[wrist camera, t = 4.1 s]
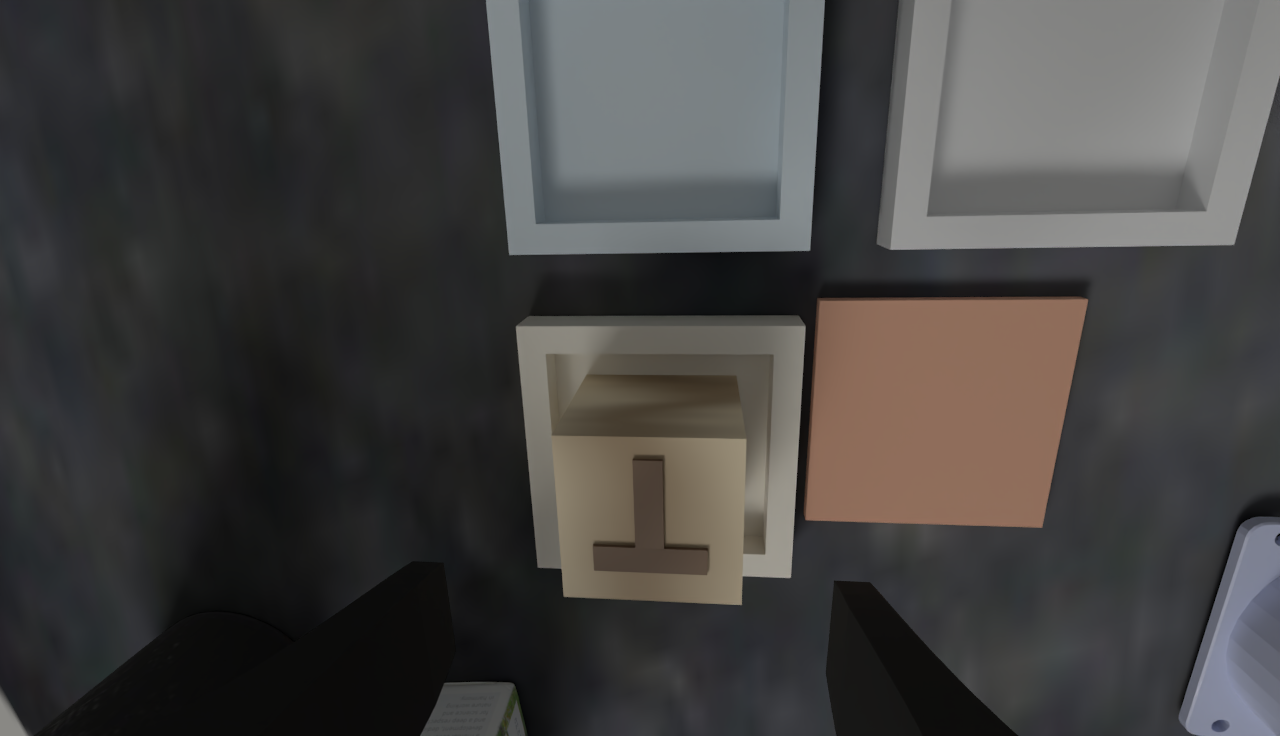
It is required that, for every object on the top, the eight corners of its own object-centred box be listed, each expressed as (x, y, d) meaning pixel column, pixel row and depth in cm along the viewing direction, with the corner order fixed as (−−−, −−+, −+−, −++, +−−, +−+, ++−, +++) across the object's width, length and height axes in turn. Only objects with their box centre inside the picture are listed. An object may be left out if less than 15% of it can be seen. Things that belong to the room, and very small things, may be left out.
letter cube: (736, 375, 18) (747, 440, 14) (733, 509, 19) (741, 607, 15) (586, 374, 18) (550, 437, 14) (593, 505, 20) (562, 599, 15)
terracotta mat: (1079, 296, 17) (1088, 299, 16) (1035, 520, 19) (1042, 527, 18) (817, 297, 17) (819, 301, 17) (803, 513, 19) (805, 520, 19)
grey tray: (1284, -129, 13) (1342, -159, 12) (1192, 239, 16) (1233, 245, 15) (908, -102, 14) (927, -127, 13) (876, 244, 17) (890, 249, 15)
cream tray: (798, 315, 17) (805, 325, 16) (785, 552, 20) (790, 577, 19) (528, 316, 18) (516, 326, 17) (547, 544, 21) (537, 567, 20)
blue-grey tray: (821, -95, 14) (832, -121, 13) (802, 244, 17) (810, 250, 16) (495, -72, 15) (477, -94, 14) (522, 249, 18) (509, 254, 16)
